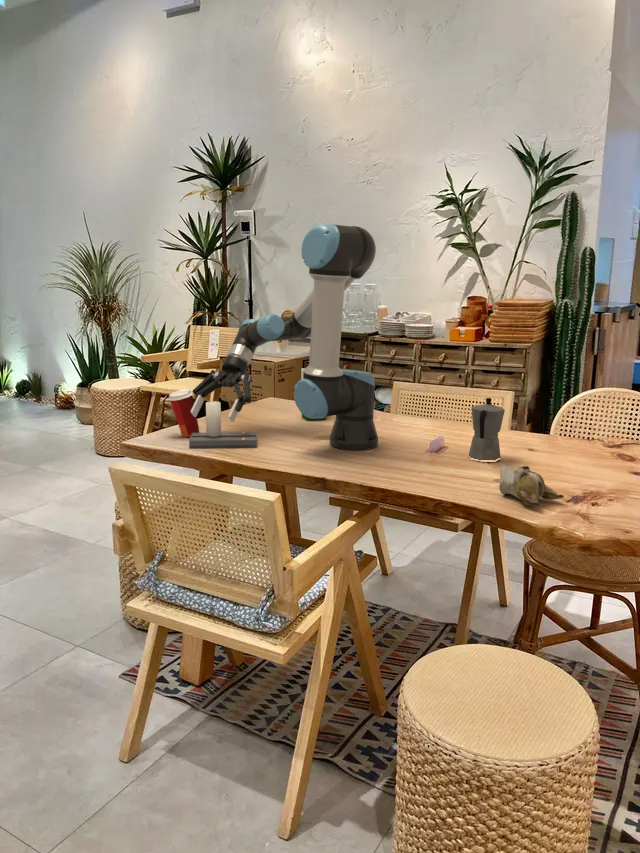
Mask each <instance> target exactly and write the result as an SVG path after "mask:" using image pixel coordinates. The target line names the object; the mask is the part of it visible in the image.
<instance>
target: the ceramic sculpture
mask: <svg viewBox="0 0 640 853" xmlns="http://www.w3.org/2000/svg"><path fill="white" fill-rule="evenodd" d="M500 468H501V469H500V477H499V486H498V490H499V491H500V493H501V494H502V495H503V494H511V496H514V497H516V498H517V499H519V500H520V501H521V502H522V503H523V504H524V505H527V506H530V507H534V506H540V502H539V500H540V499H545V500H548V501H549V500H558V499H564V498H565V496H564V495H563V494H558V493H557V492H556V491H554V489H552V488H551V486H550V487H549V486H548V485H547V484H545V480H544V478H543V477H542V475H541V474H539V473H537V472H535V471H532V470H530V467H529V465H526V466H525V465H524V466H520V467H518V468H517V469H516V468H514V467H511V466H510V465H507V464H505V463H503V464H502V465H501V467H500Z"/></svg>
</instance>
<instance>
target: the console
mask: <svg viewBox="0 0 640 853" xmlns="http://www.w3.org/2000/svg"><path fill="white" fill-rule="evenodd" d="M257 439H258V436H257V432H255V431H254V432H253V431H251V432H250V431H248V432H247V431H246V432H245V431H239V432H238V431H237V432H236V431H235V432H234V431H233V432H231V431H230V432H229V431H228V432H226V431H225V432H222V431H221V435H220V436H216V437H211V436H207V433H206V432H199V433H192V434H191V437H189V440H188V441H189V443H188V444H189V445H188V446H189V449H255V448H257V447H258V445H257V444H258V442H257V441H258V440H257Z"/></svg>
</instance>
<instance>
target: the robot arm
mask: <svg viewBox="0 0 640 853" xmlns="http://www.w3.org/2000/svg"><path fill="white" fill-rule="evenodd" d="M301 244H302V245H301V251H300V252H301V258H302V259H303V263H304V265H305V266H306V267H308V269H309V270H308V275H309V276H310V277H311V279H313V289H312V290H311V291H310V293H309V294H308V295H307V296H306V298H305V299H304V300H303V301H302V302H301V303H300V305H299V306H298V307H297V308H296V309H295V310H294V312H293V313H292V314H291V315H289V316H279V315H278V314H275V313H270V314H267V315H264V316H262V317H260V318H259V319H253V318H250V319H249V318H247V319H245V320H243V322H242V323H241V325H240V326H239V328H238V330H237V334H236V335H235V337H234V340H233V342H232V344H231V346H230V348H229V349H228V352H227V354H226V357H225V359H224V361H223V362H222V366H221V370H220V371H219V372H216V371H215V370H214V369H212V370H211V371H210V373H209V374H208V375H207V376H206V378H204V379H203V380H202V381H201V382H200V383H199V384H198V385H196V386H195V388H194V389H192V390H191V392H192V393H193V395H194V396H195V397H194V398H193V401H194V402H193V404H194V405H193V407H192V410H191V413H192V415H193V416H194V417H196V416H198V414H199V412H200V410H201V408H202V406H203V403H204V401H205V399H204V398H205V397H207V396H209V395H210V394H211V393H213V392H214V391H216V390H217V389H221V388H230V389H231V388H234V390H235V392H236V395H237V398H238V399H237V398H236V399H235V400H234V403H233V405H232V407H231V409H230V412H229V413H228V415H227V416H228V419H229V420H230V422H232V423H234V422H235V420H236V417H237V415H238V413H240V412H241V411H242V409H243V406H244V405H245V404H246V403H248V404H250V403H252V395H251V380H252V378H251V376H250V374H249V373H248V372H247V369H248V366H249V365H250V363H251V360H252V359H253V356H254V354H255V352H256V350H257V348H258V347H259V346H262V345H264V344H266V343H270V342H277V341H278V342H279V341H292V340H293V341H294V340H304V339H309V338H310V344H309V345H310V346H309V359H308V360H309V361H308V366H307V365H306V366H307V367H305V369H304V371H303V379H302V380H301V379H300V380H298V381H297V382H296V384H295V385H294V389H293V399H294V402H295V405H296V407H297V408H298V410H299V412H300V413H301V415H302V414H303V415H304V416H306V417H308V418H312V419H314V418H324V417H326V418H327V417H333V416H335V420H334V422H333V426H332V429H331V431H330V435H329V439H328V440H329V443H328V444H329V445H330V447H331V446H332V447H333V448H335V449H340V450H341V449H342V450H349V451H364V450H365V451H366V450H370V449H375V448H377V447H378V446H379V435H378V432H377V429H376V428H377V427H376V426H375V422H374V413H375V412H374V410H375V408H374V407H375V388H376V385H375V376H374V374H373V373H372V372H370V371H363V370H355V369H346V368H340V353H341V343H342V342H341V340H342V339H341V338H342V329H343V327H342V326H343V315H344V314H343V313H344V312H343V311H344V297H345V296H344V295H345V291H346V290H347V289H348V288H349V286H351V284H352V283H353V282H354V281H355V280H360V279H361V278H362V277H363V276H364V275H365V274H366V273H367V272H368V270H369V269H370V268H371V266H372V265H373V262H374V261H375V258H376V257H375V256H376V254H377V253H376V252H377V249H376V247H377V246H376V243H375V239H374V237H373V236H372V234H371V233H370V232H369V231H368V230H367V229H365V228H363V227H361V226H355V225H341V224H332V223H329V224H328V223H327V224H325V223H323V224H321V223H320V224H317V225H315V226H313V227H311V228H310V229H309V231H308V232H307V233H306V234H305V236H304V238H303V240H302V243H301ZM242 381H243V392H244V395H243V392H242V389H241V387H240V385H239V383H240V382H242Z"/></svg>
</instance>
